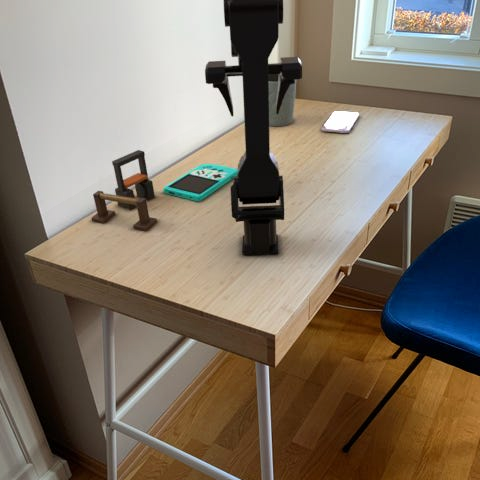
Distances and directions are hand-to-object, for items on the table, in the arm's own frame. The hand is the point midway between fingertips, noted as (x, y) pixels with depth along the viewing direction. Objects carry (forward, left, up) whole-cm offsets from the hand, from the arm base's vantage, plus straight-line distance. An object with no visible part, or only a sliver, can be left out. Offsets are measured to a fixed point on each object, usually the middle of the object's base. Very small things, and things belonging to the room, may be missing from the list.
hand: (254, 114), depth 109 cm
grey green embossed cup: (+40, -6, -15) cm, 43 cm away
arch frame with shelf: (-8, +26, -15) cm, 31 cm away
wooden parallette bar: (-17, +26, -15) cm, 35 cm away
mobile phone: (+36, -23, -15) cm, 45 cm away
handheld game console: (0, +12, -15) cm, 19 cm away
